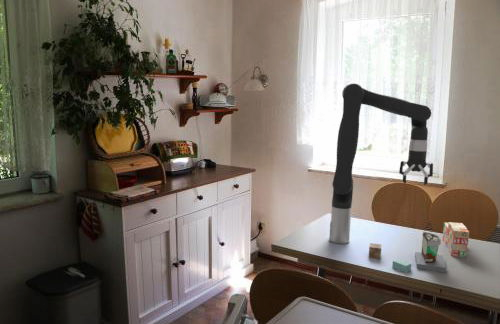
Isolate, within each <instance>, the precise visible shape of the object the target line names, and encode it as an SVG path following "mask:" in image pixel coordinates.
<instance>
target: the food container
mask: <svg viewBox="0 0 500 324" xmlns="http://www.w3.org/2000/svg"><path fill="white" fill-rule="evenodd" d="M421 242H422V243H421V252H422V257H423V259H424V261H425V263H433V262H435V261H436V257H437V255H438V251H439V246H440V245H441V244H442V242H441V238H440V236H439V235H437V234H435V233H431V232H427V231H422V241H421Z"/></svg>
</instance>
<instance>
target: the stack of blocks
mask: <svg viewBox="0 0 500 324" xmlns="http://www.w3.org/2000/svg"><path fill="white" fill-rule="evenodd" d="M442 228H443V229H442V242H443V244H444V245H445V247H446V249H447V250H448V252H449V254H450V256H451V257H457V258H458V257H459V258H464V259H465V258H467V253H468V245H469V238H470V231H469V230H468V228H467V226H466V225H464V223H462V222H452V221H451V222H450V221H449V222H443V227H442Z"/></svg>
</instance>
